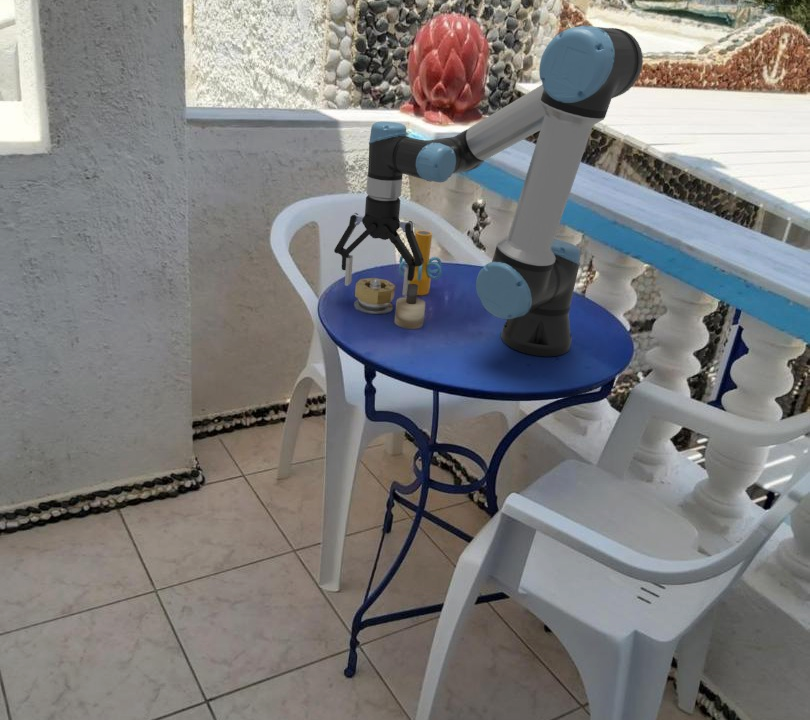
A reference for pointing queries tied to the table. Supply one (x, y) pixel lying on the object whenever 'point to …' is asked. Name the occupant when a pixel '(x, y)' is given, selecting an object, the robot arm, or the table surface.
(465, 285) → the table surface
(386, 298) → the ring
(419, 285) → the cylinder
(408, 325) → the stand
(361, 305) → the hub
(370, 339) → the table surface
